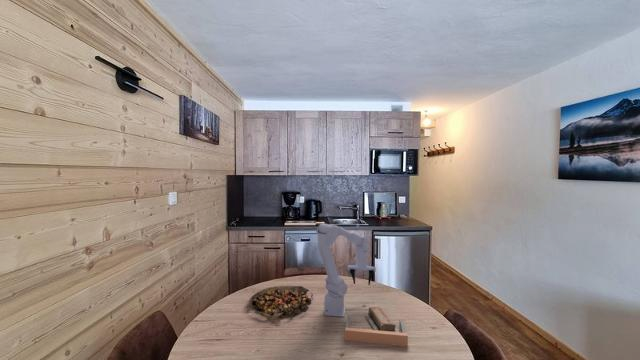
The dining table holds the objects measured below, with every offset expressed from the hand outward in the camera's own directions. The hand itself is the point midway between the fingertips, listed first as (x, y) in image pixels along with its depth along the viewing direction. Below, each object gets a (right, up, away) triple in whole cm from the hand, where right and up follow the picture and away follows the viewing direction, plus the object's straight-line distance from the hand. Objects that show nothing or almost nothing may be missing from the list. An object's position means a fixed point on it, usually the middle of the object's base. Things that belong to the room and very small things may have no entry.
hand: (361, 283), depth 143 cm
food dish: (-42, -10, -2) cm, 43 cm away
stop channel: (+1, -9, -28) cm, 29 cm away
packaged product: (+5, -10, -23) cm, 25 cm away
